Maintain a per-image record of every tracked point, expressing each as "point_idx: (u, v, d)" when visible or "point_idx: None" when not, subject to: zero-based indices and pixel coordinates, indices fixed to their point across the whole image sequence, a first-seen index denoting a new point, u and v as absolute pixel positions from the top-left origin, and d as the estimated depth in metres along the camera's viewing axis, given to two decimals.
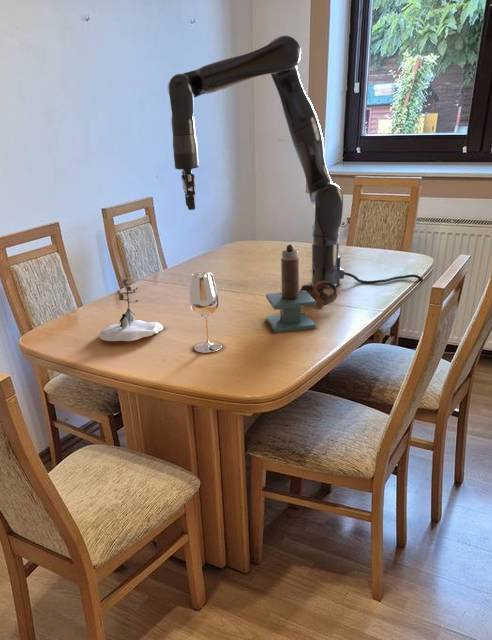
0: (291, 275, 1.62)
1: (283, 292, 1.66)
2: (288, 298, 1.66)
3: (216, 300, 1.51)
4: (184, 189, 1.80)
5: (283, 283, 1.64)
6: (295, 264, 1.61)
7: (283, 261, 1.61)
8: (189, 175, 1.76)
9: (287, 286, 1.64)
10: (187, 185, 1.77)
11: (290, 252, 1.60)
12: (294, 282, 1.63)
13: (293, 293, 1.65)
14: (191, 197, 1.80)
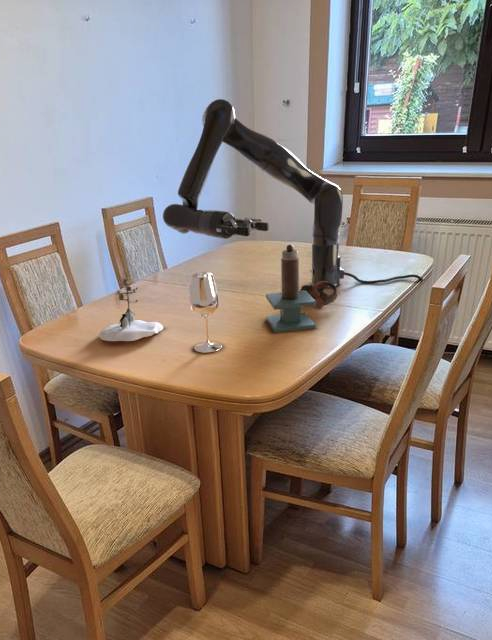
0: (291, 275, 1.62)
1: (283, 292, 1.66)
2: (288, 298, 1.66)
3: (216, 300, 1.51)
4: None
5: (283, 283, 1.64)
6: (295, 264, 1.61)
7: (283, 261, 1.61)
8: (216, 229, 1.67)
9: (287, 286, 1.64)
10: (223, 234, 1.66)
11: (290, 252, 1.60)
12: (294, 282, 1.63)
13: (293, 293, 1.65)
14: (236, 230, 1.64)
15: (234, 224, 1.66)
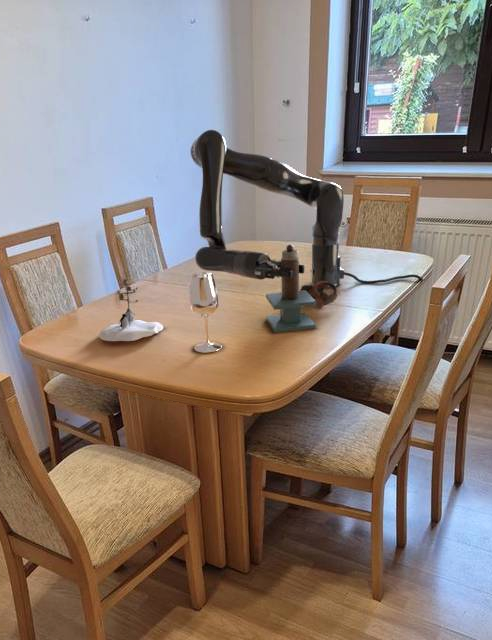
0: None
1: (283, 292, 1.66)
2: (288, 298, 1.66)
3: (216, 300, 1.51)
4: None
5: (283, 283, 1.64)
6: (295, 264, 1.61)
7: (283, 261, 1.61)
8: (255, 272, 1.64)
9: (287, 286, 1.64)
10: (264, 276, 1.63)
11: (290, 252, 1.60)
12: (294, 282, 1.63)
13: (293, 293, 1.65)
14: (279, 272, 1.62)
15: (274, 266, 1.64)
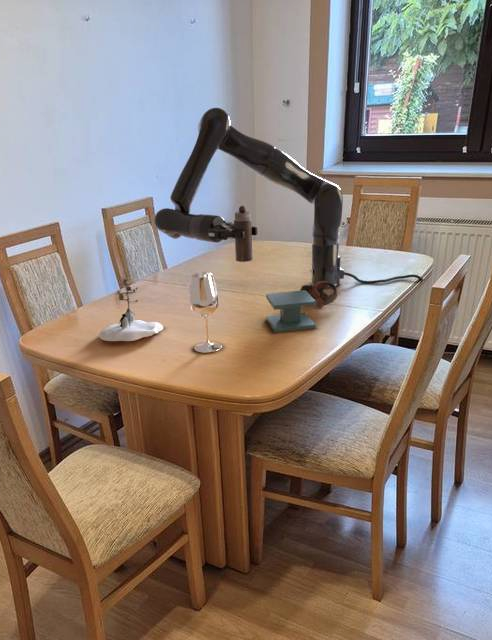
0: None
1: (237, 253, 1.68)
2: (241, 259, 1.68)
3: (216, 300, 1.51)
4: (228, 238, 1.68)
5: (236, 244, 1.66)
6: (248, 226, 1.63)
7: (235, 222, 1.63)
8: (209, 234, 1.66)
9: (240, 247, 1.66)
10: (217, 238, 1.65)
11: (242, 213, 1.62)
12: (247, 243, 1.66)
13: (246, 255, 1.67)
14: (232, 233, 1.64)
15: (227, 227, 1.66)
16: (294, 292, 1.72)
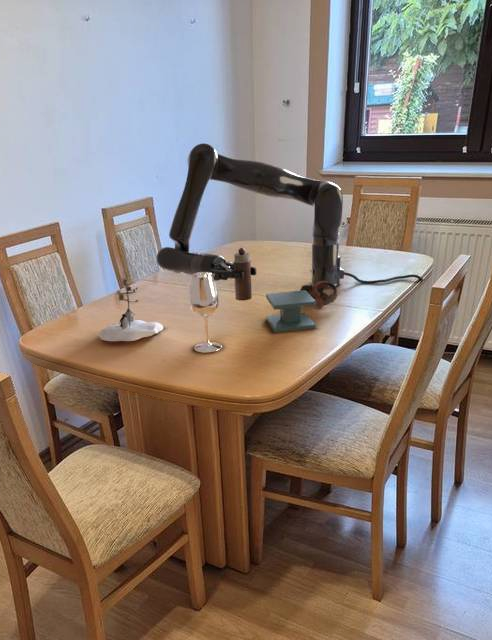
0: None
1: (236, 293, 1.74)
2: (241, 298, 1.74)
3: (216, 300, 1.51)
4: None
5: (236, 284, 1.73)
6: (247, 267, 1.70)
7: (235, 263, 1.70)
8: None
9: (240, 287, 1.72)
10: (217, 278, 1.72)
11: (242, 255, 1.68)
12: (246, 283, 1.72)
13: (245, 294, 1.73)
14: (232, 274, 1.71)
15: (227, 268, 1.72)
16: (294, 292, 1.72)
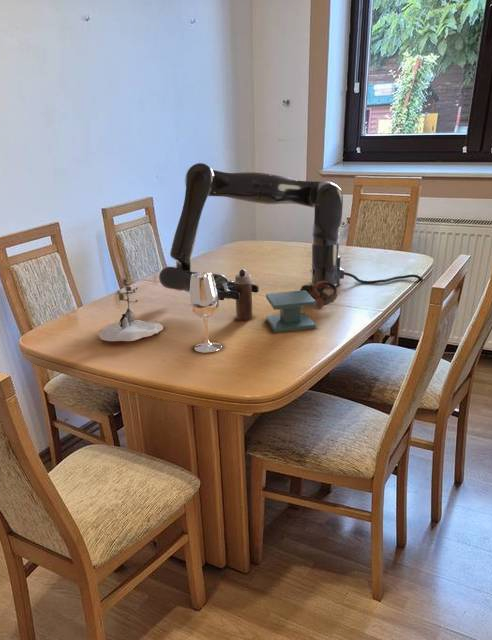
0: (244, 298, 1.74)
1: (238, 313, 1.77)
2: (242, 318, 1.77)
3: (216, 300, 1.51)
4: None
5: (237, 304, 1.76)
6: (248, 288, 1.73)
7: (236, 285, 1.73)
8: None
9: (241, 308, 1.76)
10: None
11: (242, 276, 1.72)
12: (247, 304, 1.75)
13: (246, 314, 1.77)
14: (227, 294, 1.73)
15: (225, 288, 1.75)
16: (294, 292, 1.72)
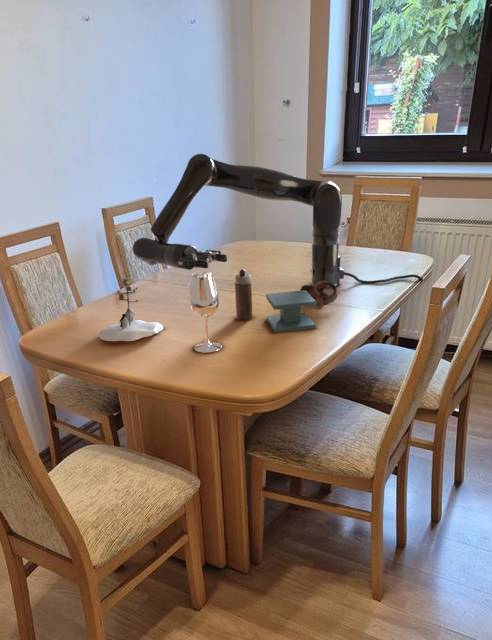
0: (244, 298, 1.74)
1: (238, 313, 1.77)
2: (242, 318, 1.77)
3: (216, 300, 1.51)
4: None
5: (237, 304, 1.76)
6: (248, 288, 1.73)
7: (236, 285, 1.73)
8: (178, 262, 1.81)
9: (241, 308, 1.76)
10: (184, 266, 1.79)
11: (242, 276, 1.72)
12: (247, 304, 1.75)
13: (246, 314, 1.77)
14: (196, 263, 1.78)
15: (194, 257, 1.79)
16: (294, 292, 1.72)
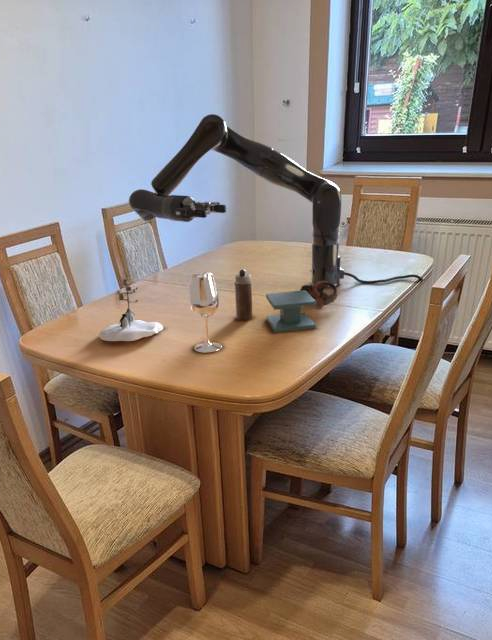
0: (244, 298, 1.74)
1: (238, 313, 1.77)
2: (242, 318, 1.77)
3: (216, 300, 1.51)
4: None
5: (237, 304, 1.76)
6: (248, 288, 1.73)
7: (236, 285, 1.73)
8: (176, 212, 1.75)
9: (241, 308, 1.76)
10: (182, 216, 1.73)
11: (242, 276, 1.72)
12: (247, 304, 1.75)
13: (246, 314, 1.77)
14: (193, 213, 1.71)
15: (192, 207, 1.73)
16: (294, 292, 1.72)
